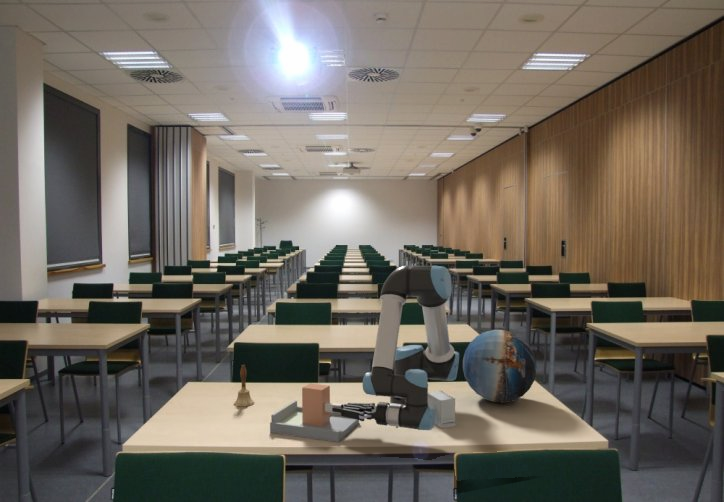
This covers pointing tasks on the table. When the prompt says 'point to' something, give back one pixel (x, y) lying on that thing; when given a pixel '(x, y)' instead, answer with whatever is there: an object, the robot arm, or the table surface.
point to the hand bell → (243, 391)
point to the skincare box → (442, 408)
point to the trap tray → (291, 424)
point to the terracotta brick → (315, 404)
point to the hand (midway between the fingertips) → (325, 407)
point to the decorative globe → (499, 366)
